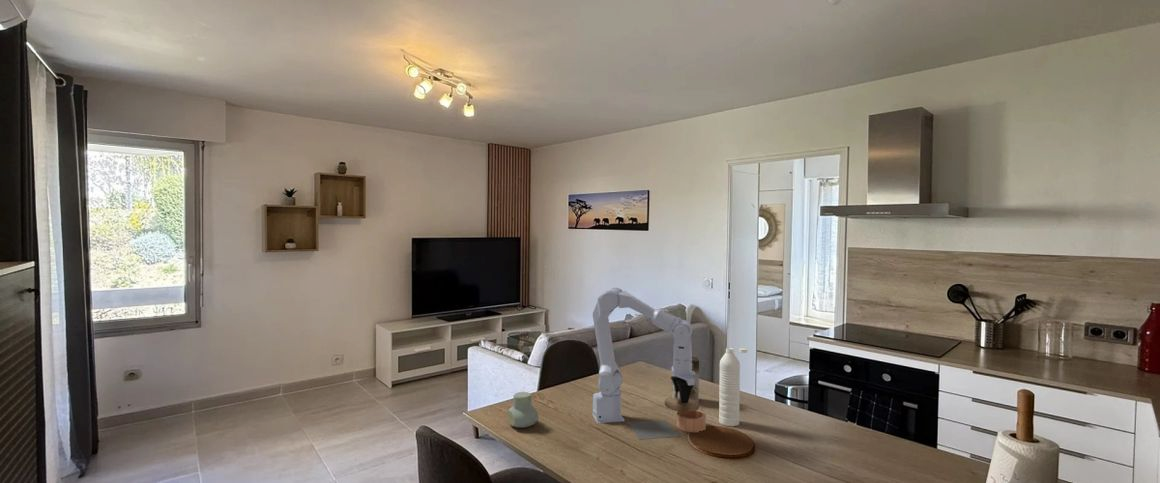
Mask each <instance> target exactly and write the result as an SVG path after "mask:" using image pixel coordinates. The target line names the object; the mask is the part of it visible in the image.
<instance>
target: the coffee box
mask: <svg viewBox="0 0 1160 483" xmlns="http://www.w3.org/2000/svg"><path fill="white" fill-rule="evenodd" d="M672 361H673V362H672V363H673V364H672V366H674V355H673V359H672ZM692 371H694V372H695V375H693V378H694V379H695V385H694V387H693V388H692V390H691V393H690V397H689V399H691V400H694V401H696V402H698V403H699V392H700V390H699V389H700V388H699V384H700V382H699V381H700V380H699V378H700V360H699V358H698V357H697V356H692ZM672 376H674V375H673V374H672ZM671 396H672V397H671V398H677V396H676V391H675V387H674V384H673V383H672V395H671Z"/></svg>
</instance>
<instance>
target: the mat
mask: <svg viewBox="0 0 1160 483" xmlns="http://www.w3.org/2000/svg"><path fill="white" fill-rule="evenodd" d="M627 424H628V425H629V426H630V428H631V430H632V431H633V432H634V434H635V435H636V437H637V438H638V440H639V441H640V440H651V439H653V440H654V439H665V438H677V437H678V438H679V437H681V436H680V435H681V434H679V433H678V432H677V431H676V430H675V429H674V428H673V426H672V425H671V424H670V423H669V422H668V420H666V419H658V420H645V421H643V420H642V421H633V422H632V421H630V422H628V421H627Z"/></svg>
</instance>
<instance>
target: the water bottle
mask: <svg viewBox="0 0 1160 483" xmlns="http://www.w3.org/2000/svg"><path fill="white" fill-rule="evenodd" d="M738 349H739V353H742V354H743V353H744V354H745V353H748V349H747V348H744V347H739V348H738ZM740 369H741V364H740V360H739V358H738V357H737V356H736V355H735V351H734V348H733V347H726V348H725V353H724V354H723V355H722V357H721V359H719V387H718V389H719V393H718V395H719V396H718V397H719V399H718V400H719V404H718V406H719V410H718V414H719V415H718V421H719V423H720V425H723V426H727V427H735V426H736V427H737V426H739V425H740V397H741V396H740V392H741V388H740V385H741V384H740V382H741V380H740V379H741V378H740V377H741V376H740V375H741V373H740V372H741V371H740Z"/></svg>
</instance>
